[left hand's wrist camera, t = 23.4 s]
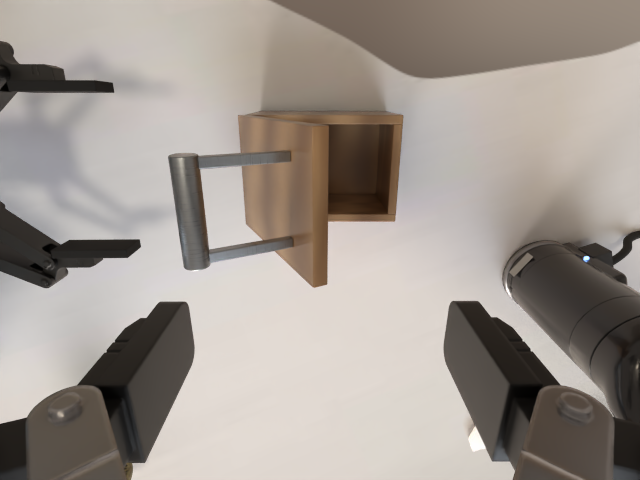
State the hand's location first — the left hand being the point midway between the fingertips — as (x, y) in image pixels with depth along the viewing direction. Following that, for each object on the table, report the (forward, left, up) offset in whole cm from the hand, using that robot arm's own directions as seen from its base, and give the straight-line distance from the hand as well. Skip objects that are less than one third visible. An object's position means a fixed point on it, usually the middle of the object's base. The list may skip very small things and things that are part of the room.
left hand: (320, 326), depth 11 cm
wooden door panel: (+3, -1, -19) cm, 19 cm away
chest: (0, 0, -35) cm, 35 cm away
